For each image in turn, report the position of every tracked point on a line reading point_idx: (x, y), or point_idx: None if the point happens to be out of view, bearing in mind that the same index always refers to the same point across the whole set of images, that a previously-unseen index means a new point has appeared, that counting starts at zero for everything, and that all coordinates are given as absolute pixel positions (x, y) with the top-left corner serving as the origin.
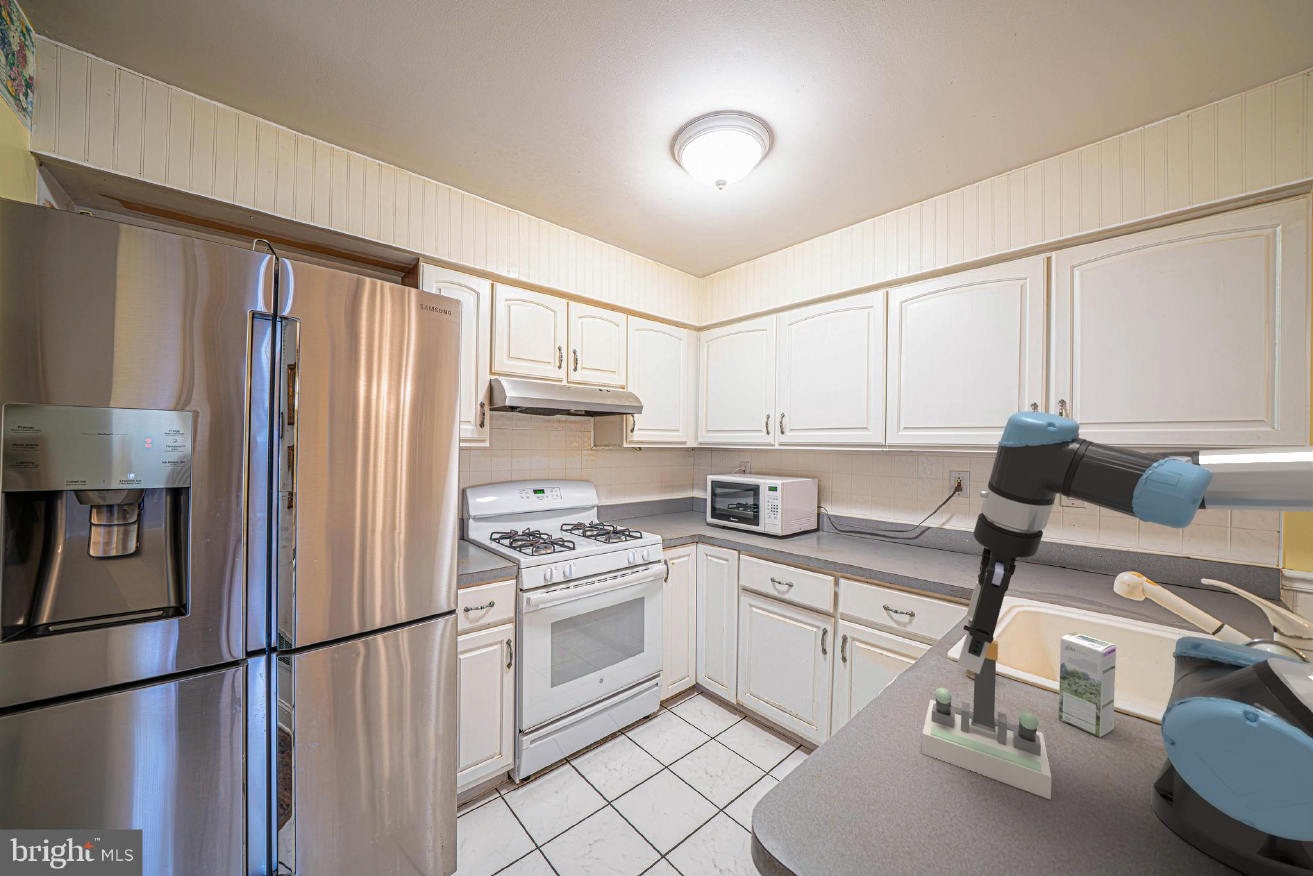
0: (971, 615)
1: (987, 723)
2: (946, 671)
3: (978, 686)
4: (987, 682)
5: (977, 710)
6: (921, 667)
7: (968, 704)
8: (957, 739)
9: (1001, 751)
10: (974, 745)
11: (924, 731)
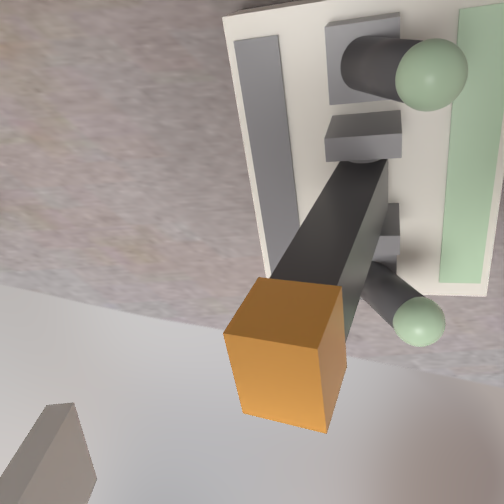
0: (86, 470)
1: (386, 177)
2: (10, 247)
3: (366, 263)
4: (360, 251)
5: (381, 219)
6: (47, 292)
7: None
8: (468, 226)
9: (464, 120)
10: (476, 187)
11: (471, 293)
